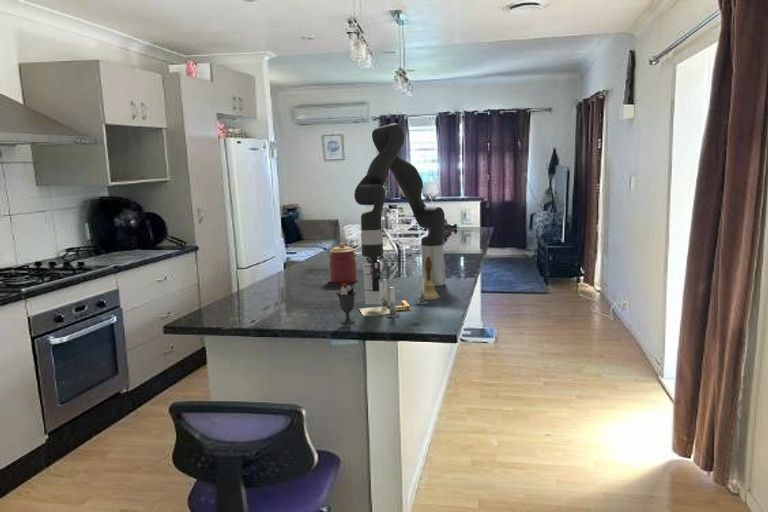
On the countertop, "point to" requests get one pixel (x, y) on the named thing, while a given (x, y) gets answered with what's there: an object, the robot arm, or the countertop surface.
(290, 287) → the countertop surface
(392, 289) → the grey rods with bases
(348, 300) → the sundae
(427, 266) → the whisk broom
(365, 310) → the pad
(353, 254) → the canister
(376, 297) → the syrup box
